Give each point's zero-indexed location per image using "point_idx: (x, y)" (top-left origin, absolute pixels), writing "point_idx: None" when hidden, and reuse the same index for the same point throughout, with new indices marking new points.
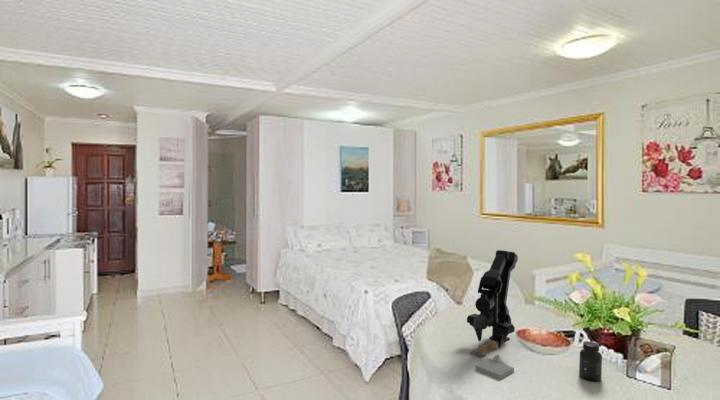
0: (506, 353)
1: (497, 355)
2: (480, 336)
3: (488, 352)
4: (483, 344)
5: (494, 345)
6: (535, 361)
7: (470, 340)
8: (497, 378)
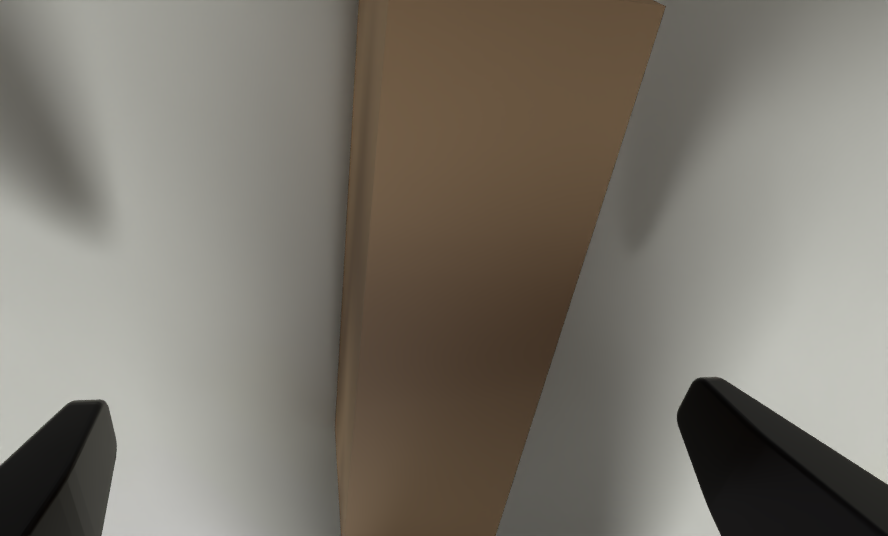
0: (46, 411)
1: (69, 183)
2: (747, 503)
3: (350, 183)
4: (527, 237)
5: (341, 456)
6: None
7: (828, 392)
8: None
